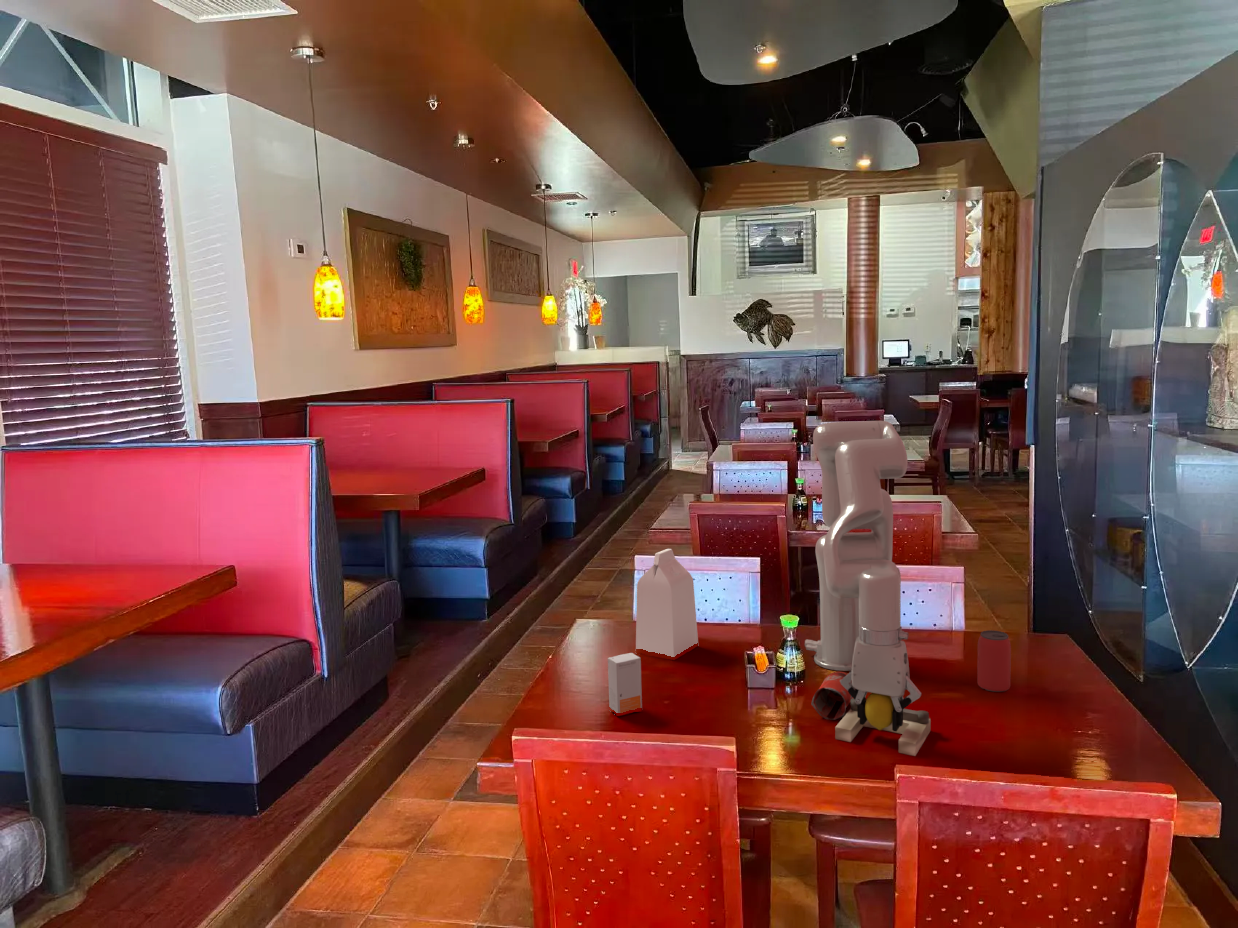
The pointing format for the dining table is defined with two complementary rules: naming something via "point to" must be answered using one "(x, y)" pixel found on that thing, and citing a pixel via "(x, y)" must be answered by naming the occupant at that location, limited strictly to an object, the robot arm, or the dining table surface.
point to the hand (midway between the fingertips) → (880, 724)
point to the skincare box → (624, 682)
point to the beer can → (994, 661)
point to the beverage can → (831, 695)
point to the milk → (666, 607)
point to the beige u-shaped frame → (889, 728)
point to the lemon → (879, 710)
